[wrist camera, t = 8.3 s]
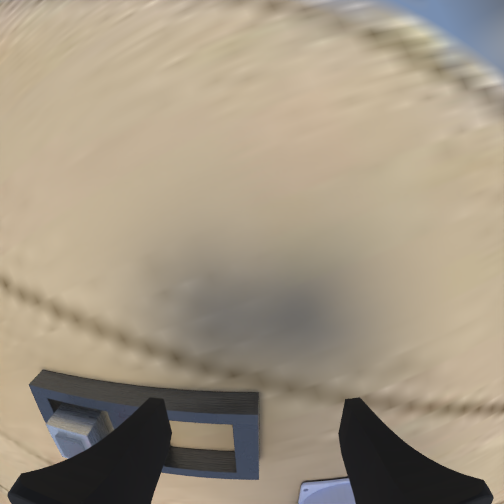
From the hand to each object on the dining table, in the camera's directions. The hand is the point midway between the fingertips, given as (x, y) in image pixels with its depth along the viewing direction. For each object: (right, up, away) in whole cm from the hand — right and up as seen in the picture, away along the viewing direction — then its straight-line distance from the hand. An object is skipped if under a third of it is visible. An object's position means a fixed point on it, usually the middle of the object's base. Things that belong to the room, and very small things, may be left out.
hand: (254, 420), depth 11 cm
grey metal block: (-14, -7, +12) cm, 20 cm away
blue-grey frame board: (-9, -8, +12) cm, 17 cm away
